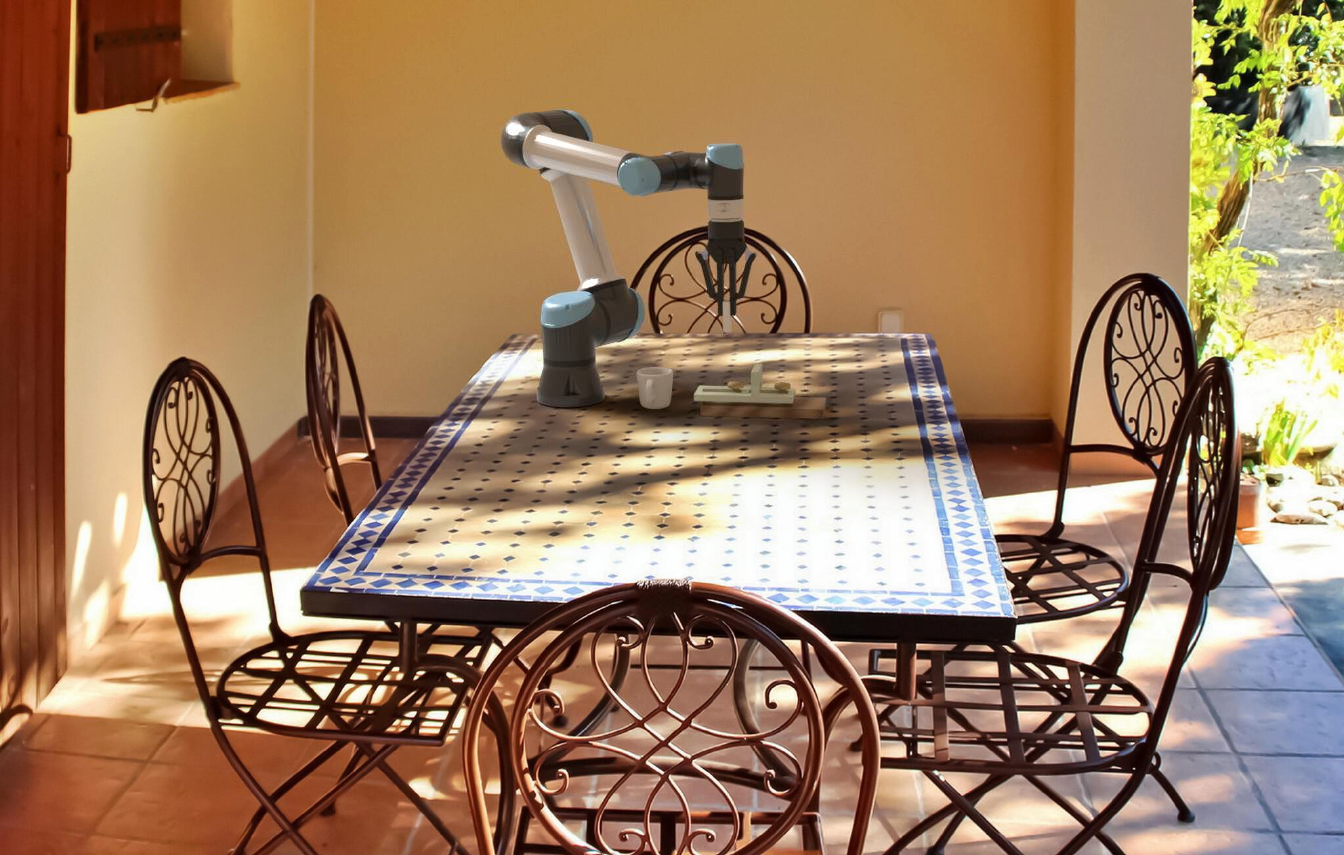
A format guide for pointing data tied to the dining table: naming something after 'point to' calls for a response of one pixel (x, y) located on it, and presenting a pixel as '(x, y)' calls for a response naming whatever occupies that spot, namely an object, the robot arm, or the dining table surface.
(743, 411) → the rail
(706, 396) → the panel
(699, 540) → the dining table surface
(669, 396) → the cup
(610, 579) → the dining table surface
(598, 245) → the robot arm
